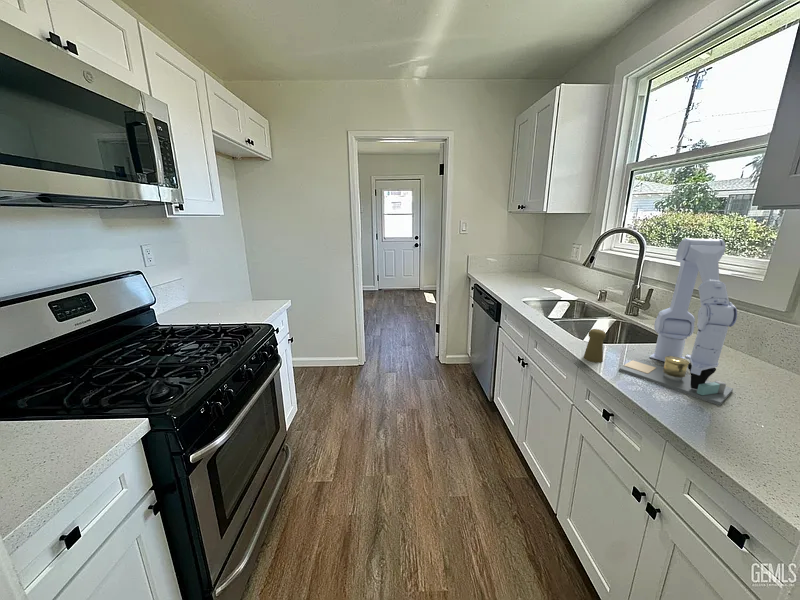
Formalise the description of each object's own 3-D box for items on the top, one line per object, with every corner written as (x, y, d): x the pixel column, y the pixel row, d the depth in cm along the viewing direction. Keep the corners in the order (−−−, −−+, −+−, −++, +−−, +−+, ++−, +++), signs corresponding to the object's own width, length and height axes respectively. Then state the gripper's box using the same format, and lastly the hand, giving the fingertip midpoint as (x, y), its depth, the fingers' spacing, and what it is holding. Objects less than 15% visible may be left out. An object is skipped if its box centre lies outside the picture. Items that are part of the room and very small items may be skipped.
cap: (665, 367, 107) (668, 354, 105) (688, 374, 102) (692, 361, 101) (659, 372, 103) (662, 358, 102) (682, 379, 99) (685, 365, 98)
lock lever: (716, 388, 96) (718, 380, 95) (725, 392, 94) (728, 384, 93) (694, 391, 94) (696, 383, 94) (703, 396, 92) (706, 387, 91)
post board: (635, 361, 117) (636, 354, 116) (732, 391, 97) (734, 383, 96) (618, 370, 110) (620, 363, 109) (719, 405, 90) (722, 397, 89)
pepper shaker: (601, 364, 114) (606, 334, 112) (582, 359, 118) (586, 330, 115) (603, 358, 119) (608, 329, 116) (584, 354, 123) (589, 326, 120)
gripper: (696, 334, 99) (685, 375, 103) (681, 347, 91) (670, 391, 95) (728, 342, 94) (716, 384, 98) (715, 357, 85) (702, 402, 89)
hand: (695, 388), depth 96 cm, fingers closed, pressing on lock lever
